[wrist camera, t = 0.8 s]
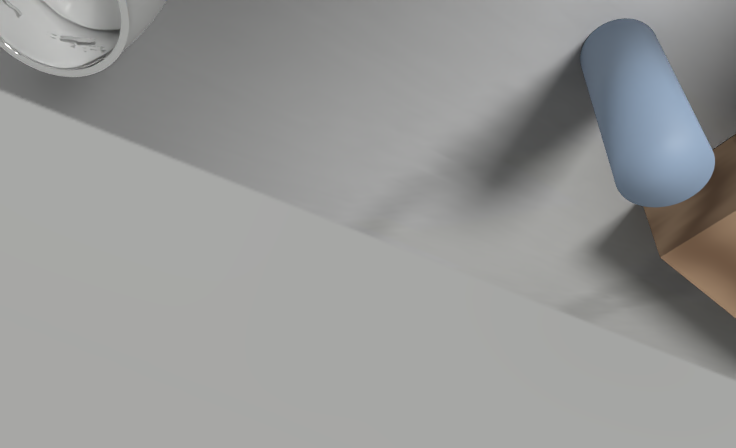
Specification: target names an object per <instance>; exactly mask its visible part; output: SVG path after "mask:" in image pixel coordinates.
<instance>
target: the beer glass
mask: <svg viewBox="0 0 736 448" xmlns="http://www.w3.org/2000/svg"><path fill="white" fill-rule="evenodd" d="M166 2H167V0H0V47H1V48H2V49H3V50H5V51H6V52H7V53H8V54H10V55H11V56H13V57H14V58H16V59H17V60H19V61H20V62H22V63H24V64H26V65H28V66H30V67H32V68H34V69H36V70H39V71H42V72H45V73H48V74H52V75H56V76H62V77H83V76H89V75H92V74H96V73H98V72H100V71H102V70H104V69H106V68H107V67H109V66H110V65H111V64H113V63H114V62H115V61H116V60H117V59H118V57H119V56H120V55H121V53H122V52H123V51H125V50H126V49H127V48H128V47H129V46H130V45H131V44H132V43H133V42H134V41H135V40H136V39H137V38H138V37H139V36H140V35H141V34H142V33H143V32H144V31H145V30H146V29H147V28H148V26H149V25H150V24H151V23H152V22H153V21H154V19H155V18H156V17H157V15H158V14H159V12H160V11H161V9H162V8H163V6H164V5H165V3H166Z"/></svg>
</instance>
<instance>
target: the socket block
mask: <svg viewBox="0 0 736 448" xmlns="http://www.w3.org/2000/svg"><path fill="white" fill-rule="evenodd" d="M713 153H714V157H715V166H714V171H713V174H712V176H711V178H710V179H709V181H708V182H707V184H706V185H705V186H704V187H703V188H702V189H701V190H700V191H699V192H698V193H696V194H695V195H694V196H692V197H690V198H689V199H687V200H685V201H683V202H680V203H678V204H675V205H671V206H666V207H644V206H643V207H644V210H645V213H646V216H647V219H648V222H649V225H650V228H651V231H652V234H653V237H654V241H655V244H656V247H657V250H658V253H659V256H660V258H661V259H663V260H664V261H665V262H666V263H668V264H669V265H670V266H671V267H673V268H674V269H675V270H676V271H677V272H679V273H680V274H681V275H682V276H684V277H685V278H686V279H687V280H689V281H690V282H691V283H692V284H694V285H695V286H696V287H697V288H699V289H700V290H701V291H702V292H704V293H705V294H706V295H707V296H709V297H710V298H711V299H712V300H714V301H715V302H716V303H717V304H719V305H720V306H721V307H722V308H723V309H725V310H726V311H727V312H728V313H730V314H731V315H732V316H733V317H735V318H736V134H735V135H734V136H733V137H731V138H730V139H728V140H727V141H725V142H724V143H722V144H721V145H719V146H718V147H716V148H715V149H714V150H713Z"/></svg>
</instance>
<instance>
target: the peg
mask: <svg viewBox="0 0 736 448" xmlns="http://www.w3.org/2000/svg"><path fill="white" fill-rule="evenodd" d="M580 63H581V67H582V70H583V74H584V77H585V81H586V84H587V88H588V91H589V94H590V98H591V101H592V105H593V108H594V112H595V115H596V118H597V122H598V125H599V129H600V132H601V135H602V139H603V142H604V146H605V149H606V153H607V156H608V159H609V163H610V166H611V170H612V173H613V177H614V180H615V183H616V187H617V189H618V191H619V192H620V193H621V195H622V196H623V197H624V198H626V199H627V200H629V201H630V202H632V203H634V204H637V205H640V206H644V207H666V206H671V205H675V204H678V203H680V202H683V201H685V200H687V199H689V198H690V197H692V196H694V195H695V194H696V193H698V192H699V191H700V190H701V189H702V188H703V187H704V186H705V185H706V184H707V182H708V181H709V179H710V178H711V176H712V174H713V171H714V166H715V157H714V153H713V150H712V148H711V146H710V144H709V142H708V140H707V138H706V136H705V134H704V132H703V130H702V128H701V126H700V124H699V122H698V120H697V118H696V116H695V114H694V112H693V110H692V108H691V106H690V104H689V102H688V100H687V98H686V96H685V94H684V92H683V90H682V88H681V86H680V84H679V82H678V80H677V78H676V76H675V74H674V72H673V70H672V68H671V66H670V63H669V61H668V59H667V57H666V55H665V53H664V51H663V49H662V47H661V45H660V43H659V41H658V39H657V37H656V35H655V33H654V32H653V30H652V29H651V28H650V27H649V26H648V25H646V24H645V23H643V22H641V21H638V20H634V19H617V20H613V21H610V22H607V23H605V24H603V25H602V26H600V27H598V28H597V29H596V30H595V31H593V32H592V33H591V34H590V36H589V37H588V38H587V40H586V41H585V43H584V45H583V47H582V50H581V55H580Z"/></svg>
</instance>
